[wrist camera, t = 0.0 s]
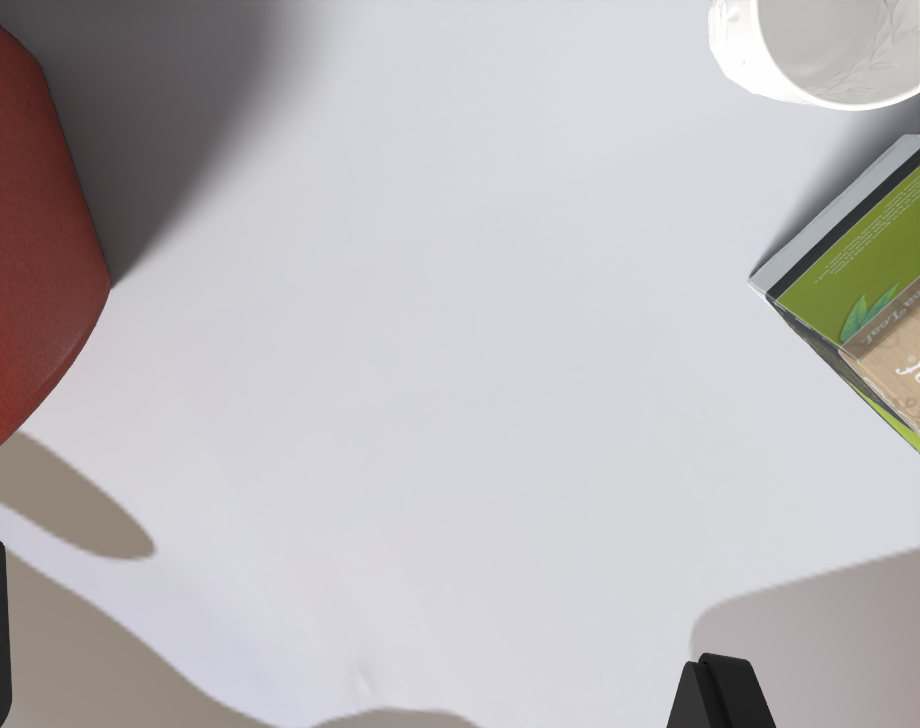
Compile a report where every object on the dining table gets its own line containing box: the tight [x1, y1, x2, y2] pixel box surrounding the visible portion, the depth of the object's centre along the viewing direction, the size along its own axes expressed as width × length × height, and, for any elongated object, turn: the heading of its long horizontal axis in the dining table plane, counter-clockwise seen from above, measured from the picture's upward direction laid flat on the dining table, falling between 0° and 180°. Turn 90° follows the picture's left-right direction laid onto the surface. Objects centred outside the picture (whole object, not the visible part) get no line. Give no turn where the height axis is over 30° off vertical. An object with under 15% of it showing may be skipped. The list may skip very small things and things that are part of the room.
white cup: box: [708, 0, 920, 111], centre depth 31 cm, size 8×8×10 cm
